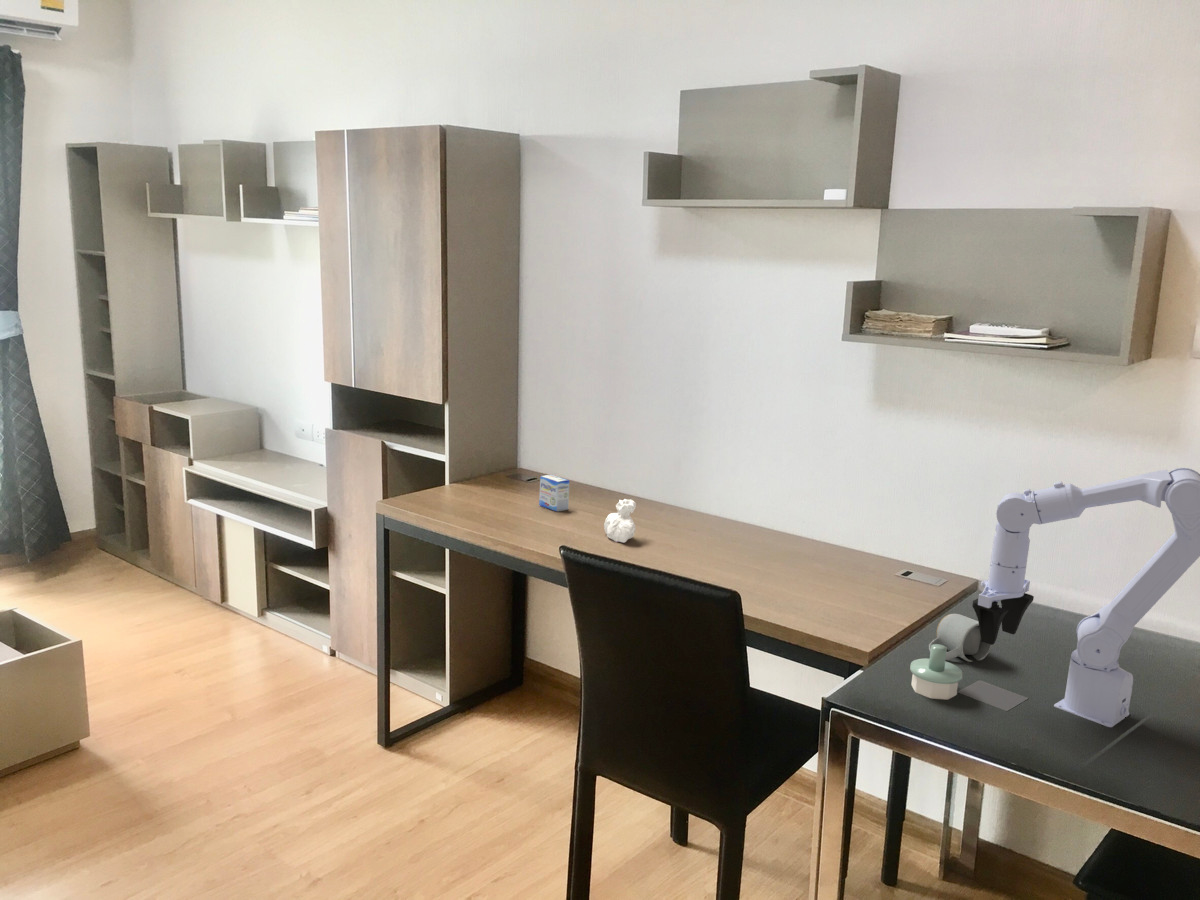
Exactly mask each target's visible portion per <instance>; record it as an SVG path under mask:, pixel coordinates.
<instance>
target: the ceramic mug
mask: <svg viewBox="0 0 1200 900" xmlns="http://www.w3.org/2000/svg"><path fill="white" fill-rule="evenodd" d="M935 632H936V633H935V636H936V638H935V639H933V640H932V641H931V642H930V643H928V650H929V653H930V652H931V645H933V644H940V645H943V646H945V647H947V653H946V661H950V660H952V659H955V658H956V657H959V658H960V659H962V660H964V661H966V662H968V663H970V662H973V660H972V659H968V657H966V656H971V657H973V658H974V659H976V661H982V660H984V659H985V658H986V657H987V656H988V654H989V653H990V651H991V649H992V646H993V645H991V644H988V643H985V642H982V641H981V636H980V628H979V622H978V620H976V619H973V618H970V617H968V616H965V615H963V614H959V613H949V614H947V615H944V617H942V618H941V619H940V621H939V622H938V625H937V627H936V631H935ZM965 655H966V656H965Z"/></svg>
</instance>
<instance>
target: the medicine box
mask: <svg viewBox="0 0 1200 900" xmlns="http://www.w3.org/2000/svg"><path fill="white" fill-rule="evenodd" d="M569 500H570V480H568V479H567V478H566V479H565V478H562V477H561V476H556V475H553V474H547V475H541V476H540V478H539V499H538V506H539V507H542V508H544V509H547V510H551V511H554V512H563V511H568V510H569V504H570V503H569V502H570V501H569Z"/></svg>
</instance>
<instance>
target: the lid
mask: <svg viewBox="0 0 1200 900" xmlns="http://www.w3.org/2000/svg"><path fill="white" fill-rule="evenodd" d="M947 652H948V650H947V647H945V646H943V645H940V644H933V645H931V652H930V651H929V658H927V657H926V658H925V657H924V658H918V659H914V660H913V661H911V663H910V666H909V667H910V668H909V671H910V672H911V673H912V675H913V674H914V675H915V676H917V677H918V678H921V679H923V680H926V681H929V682H933V683H940V684H953V683H957V682H958V683H959V682H961V681H962V680H963V671H962V669H961V668H960V667H959V666H958V665H956V664H953V663H952V662H949V661H947V660H946V653H947Z"/></svg>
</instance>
